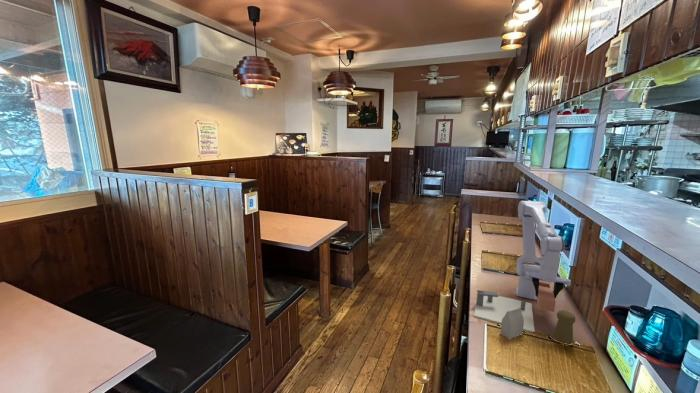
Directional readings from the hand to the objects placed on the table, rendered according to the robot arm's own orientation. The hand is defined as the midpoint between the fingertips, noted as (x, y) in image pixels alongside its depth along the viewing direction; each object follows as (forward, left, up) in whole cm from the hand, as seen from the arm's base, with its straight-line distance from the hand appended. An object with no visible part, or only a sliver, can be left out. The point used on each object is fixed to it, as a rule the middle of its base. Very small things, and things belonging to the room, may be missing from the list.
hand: (544, 297), depth 115 cm
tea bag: (+19, -11, -9) cm, 24 cm away
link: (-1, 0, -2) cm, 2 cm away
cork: (+14, +5, -9) cm, 17 cm away
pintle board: (+3, -14, -8) cm, 17 cm away
